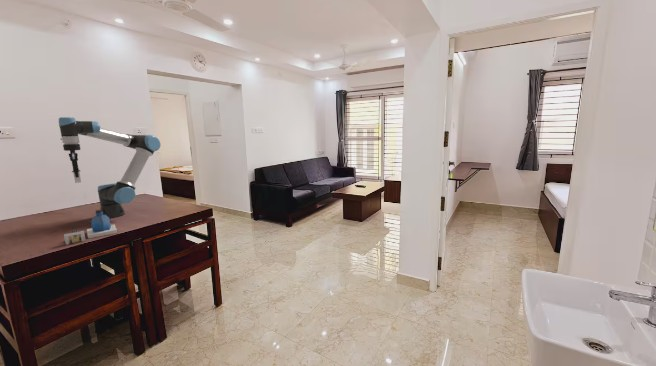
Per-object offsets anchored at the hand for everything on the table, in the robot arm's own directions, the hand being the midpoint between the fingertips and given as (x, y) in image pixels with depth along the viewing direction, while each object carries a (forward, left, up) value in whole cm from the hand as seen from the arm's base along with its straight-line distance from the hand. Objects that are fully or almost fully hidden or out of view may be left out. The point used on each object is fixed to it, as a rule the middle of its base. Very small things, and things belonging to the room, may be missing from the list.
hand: (78, 182), depth 173 cm
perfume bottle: (+18, +7, -28) cm, 34 cm away
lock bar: (+23, -5, -29) cm, 38 cm away
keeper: (+27, -5, -29) cm, 40 cm away
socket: (+18, +7, -29) cm, 35 cm away
